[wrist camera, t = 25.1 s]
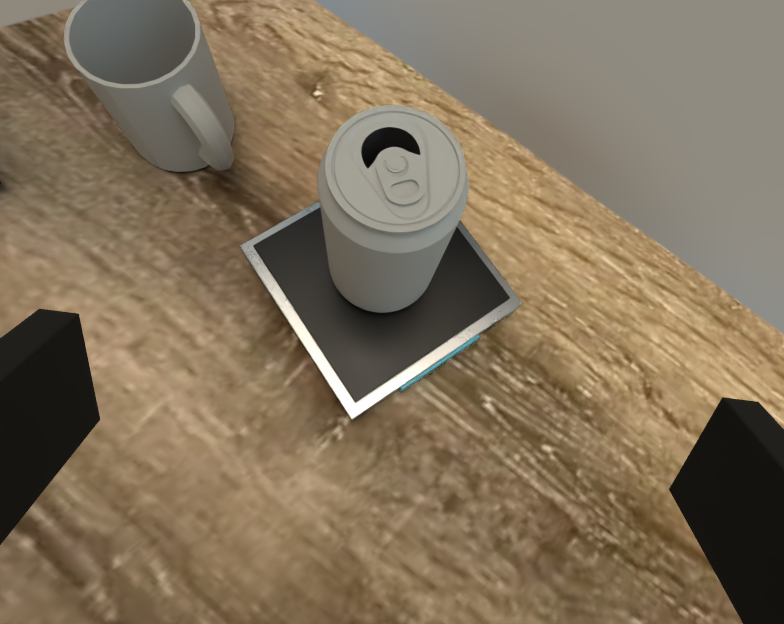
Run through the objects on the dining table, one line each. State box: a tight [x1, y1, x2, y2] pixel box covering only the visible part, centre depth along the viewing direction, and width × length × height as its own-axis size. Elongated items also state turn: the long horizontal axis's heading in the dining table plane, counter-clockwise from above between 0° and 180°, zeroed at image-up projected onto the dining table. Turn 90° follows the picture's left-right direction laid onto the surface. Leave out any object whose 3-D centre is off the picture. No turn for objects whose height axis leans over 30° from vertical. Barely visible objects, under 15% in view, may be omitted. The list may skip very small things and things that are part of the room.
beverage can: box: [318, 105, 469, 313], centre depth 26 cm, size 6×6×12 cm
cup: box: [64, 0, 234, 172], centre depth 32 cm, size 7×10×9 cm
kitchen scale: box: [240, 200, 523, 421], centre depth 33 cm, size 13×13×3 cm
